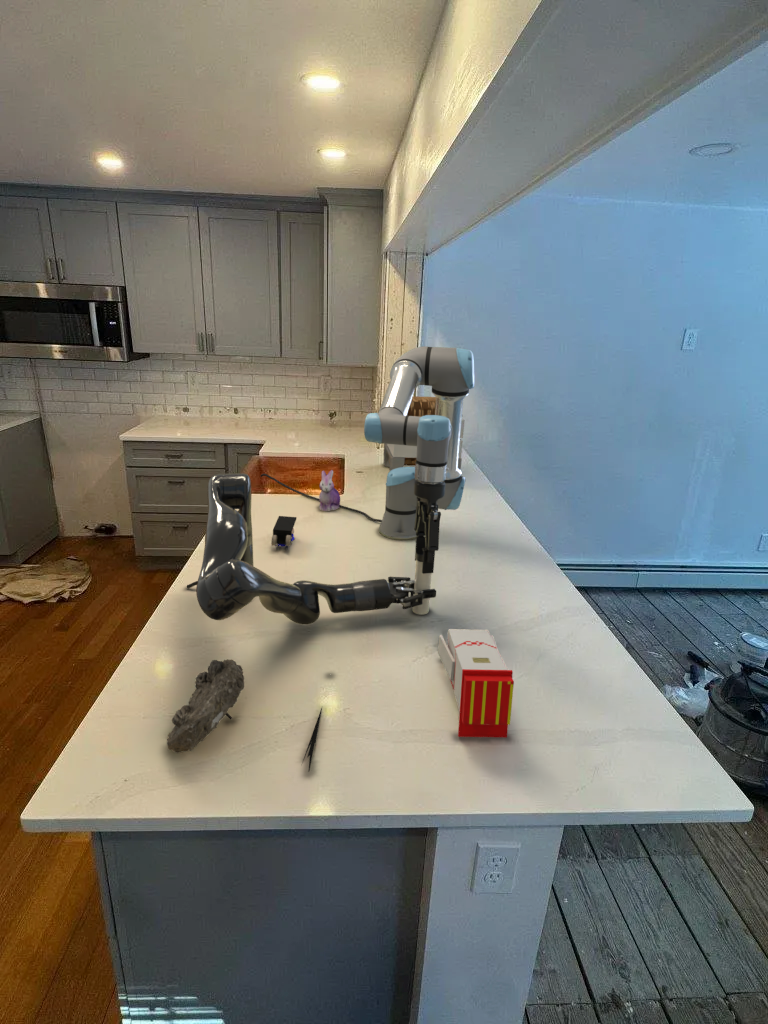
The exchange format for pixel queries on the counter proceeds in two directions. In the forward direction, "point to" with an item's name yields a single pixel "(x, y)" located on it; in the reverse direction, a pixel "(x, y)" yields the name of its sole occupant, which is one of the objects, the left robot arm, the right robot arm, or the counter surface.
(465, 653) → the toy
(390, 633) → the counter surface
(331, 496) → the figurine
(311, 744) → the feather
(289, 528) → the figurine character
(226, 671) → the fossil
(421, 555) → the lid
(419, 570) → the white cylinder
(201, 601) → the left robot arm
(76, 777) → the counter surface
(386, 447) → the transformer
